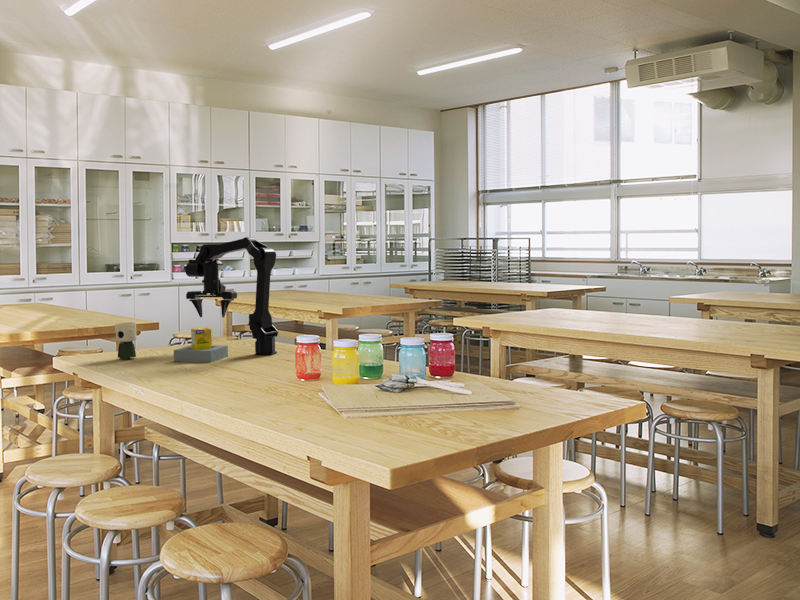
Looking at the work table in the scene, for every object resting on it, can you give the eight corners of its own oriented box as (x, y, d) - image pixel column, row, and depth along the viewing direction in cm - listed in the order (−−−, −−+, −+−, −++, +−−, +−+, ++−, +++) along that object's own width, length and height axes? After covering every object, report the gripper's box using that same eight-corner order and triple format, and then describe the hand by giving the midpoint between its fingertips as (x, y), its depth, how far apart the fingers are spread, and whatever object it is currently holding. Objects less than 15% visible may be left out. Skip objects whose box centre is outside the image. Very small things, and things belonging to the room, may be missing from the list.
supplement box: (212, 359, 254) (211, 328, 253) (195, 360, 251) (194, 329, 251) (208, 357, 259) (207, 327, 259) (191, 358, 257) (190, 328, 256)
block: (228, 356, 261) (227, 345, 261) (211, 362, 247) (210, 350, 247) (192, 355, 263) (192, 344, 263) (174, 361, 250) (173, 350, 249)
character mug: (110, 358, 257) (108, 323, 256) (128, 356, 263) (127, 321, 262) (125, 361, 250) (123, 325, 249) (143, 359, 255) (142, 323, 254)
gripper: (242, 276, 280) (243, 315, 281) (198, 276, 283) (199, 315, 284) (230, 277, 269) (231, 318, 270) (184, 277, 272) (186, 317, 274)
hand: (212, 317), depth 275 cm, fingers open, 9 cm apart
